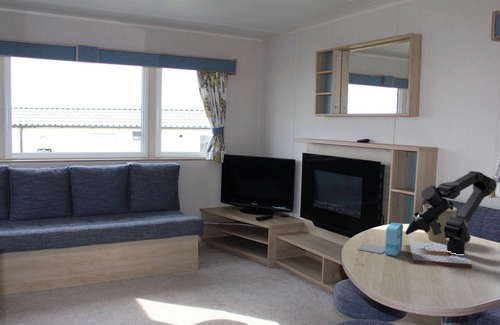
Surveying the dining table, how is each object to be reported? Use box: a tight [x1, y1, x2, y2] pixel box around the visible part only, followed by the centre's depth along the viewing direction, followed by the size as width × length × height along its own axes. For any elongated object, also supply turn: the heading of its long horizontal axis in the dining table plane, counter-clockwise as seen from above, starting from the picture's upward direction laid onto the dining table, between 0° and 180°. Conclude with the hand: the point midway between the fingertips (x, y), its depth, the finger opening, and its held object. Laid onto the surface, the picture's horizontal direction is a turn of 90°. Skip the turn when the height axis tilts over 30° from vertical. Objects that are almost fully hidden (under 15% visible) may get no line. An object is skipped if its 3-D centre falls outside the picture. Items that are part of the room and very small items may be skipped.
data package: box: [384, 222, 404, 257], centre depth 201 cm, size 12×4×12 cm, turn 151°
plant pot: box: [422, 203, 458, 243], centre depth 223 cm, size 15×15×16 cm
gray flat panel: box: [357, 242, 385, 255], centre depth 206 cm, size 10×11×1 cm
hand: (405, 233), depth 199 cm, fingers closed
